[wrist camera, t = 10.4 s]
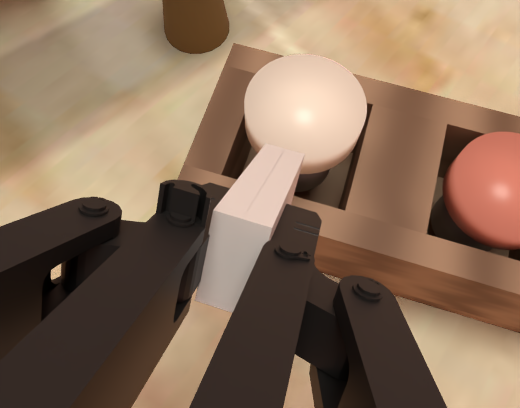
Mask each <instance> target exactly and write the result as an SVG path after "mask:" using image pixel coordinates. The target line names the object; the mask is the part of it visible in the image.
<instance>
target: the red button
mask: <svg viewBox="0 0 520 408" xmlns="http://www.w3.org/2000/svg"><path fill="white" fill-rule="evenodd" d="M442 191H443V195H442V196H441V197H440V198H439V199H438V201H437V202H436V203H435V205H434V207H433V209H432V213H431V224H432V228H433V231H434V233H435V235H436V237H438V238H442V239H445V240H448V241H452V242H455V243H459V244H462V245H466V246H469V247H473V248H476V249H480V250H483V251H487V252H488V251H490V250H491V249H493V248H496V249H501V250H517V249H520V134H519V133H514V132H493V133H488V134H484V135H482V136H480V137H478V138H476V139H474V140H473V141H471V142H470V143H469V144H468V145H467V146H466V147H465V148H464V149H463V150H462V151H461V153H460V154H459V155H458V156H457V157H456V158H455V159H454V161H453V162H452V163H451V164H450V166H449V167H448V169H447V171H446V173H445V176H444V179H443V186H442Z"/></svg>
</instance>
